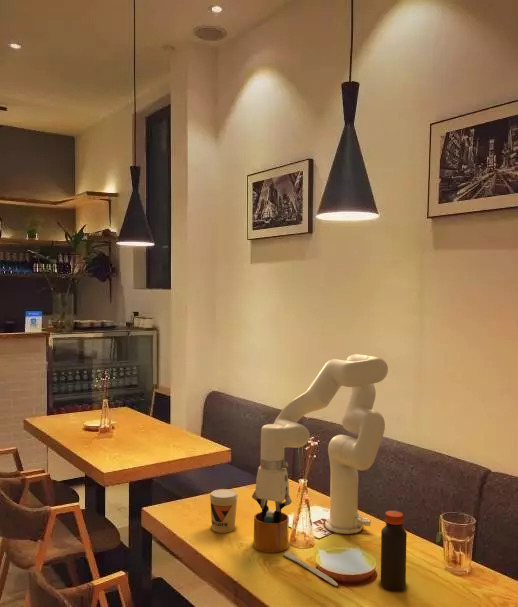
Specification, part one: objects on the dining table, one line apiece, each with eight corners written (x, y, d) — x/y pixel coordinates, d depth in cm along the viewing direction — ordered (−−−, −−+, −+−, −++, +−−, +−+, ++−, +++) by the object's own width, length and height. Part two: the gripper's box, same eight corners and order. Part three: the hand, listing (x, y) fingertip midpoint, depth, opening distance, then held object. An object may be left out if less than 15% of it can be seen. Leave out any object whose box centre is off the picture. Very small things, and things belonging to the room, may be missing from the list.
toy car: (272, 525, 187) (272, 514, 187) (262, 523, 188) (263, 513, 188) (279, 519, 192) (279, 509, 192) (269, 517, 193) (270, 507, 193)
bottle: (376, 587, 164) (378, 514, 164) (385, 577, 170) (386, 507, 169) (400, 594, 160) (402, 520, 160) (408, 583, 166) (410, 512, 166)
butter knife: (290, 551, 184) (282, 553, 183) (341, 583, 164) (333, 586, 163) (290, 552, 184) (282, 554, 183) (341, 585, 164) (333, 587, 163)
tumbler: (291, 540, 194) (292, 513, 194) (283, 554, 183) (284, 525, 183) (259, 536, 197) (259, 509, 197) (249, 549, 187) (249, 521, 186)
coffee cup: (204, 531, 200) (205, 495, 200) (216, 521, 209) (216, 487, 209) (230, 535, 197) (231, 499, 197) (241, 525, 206) (241, 490, 206)
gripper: (300, 464, 190) (299, 521, 190) (253, 457, 197) (252, 513, 197) (292, 470, 183) (291, 530, 183) (243, 463, 190) (242, 520, 190)
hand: (271, 520), depth 190 cm, fingers closed on toy car, 3 cm apart
